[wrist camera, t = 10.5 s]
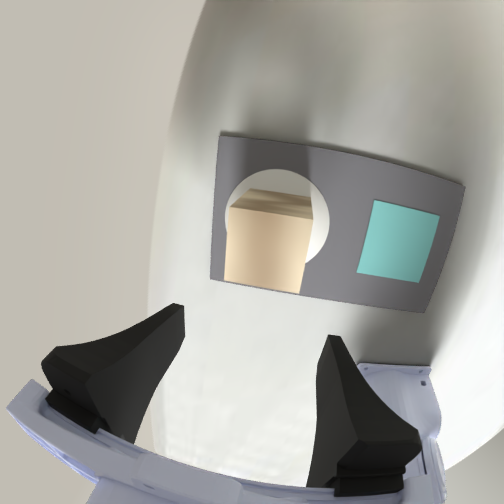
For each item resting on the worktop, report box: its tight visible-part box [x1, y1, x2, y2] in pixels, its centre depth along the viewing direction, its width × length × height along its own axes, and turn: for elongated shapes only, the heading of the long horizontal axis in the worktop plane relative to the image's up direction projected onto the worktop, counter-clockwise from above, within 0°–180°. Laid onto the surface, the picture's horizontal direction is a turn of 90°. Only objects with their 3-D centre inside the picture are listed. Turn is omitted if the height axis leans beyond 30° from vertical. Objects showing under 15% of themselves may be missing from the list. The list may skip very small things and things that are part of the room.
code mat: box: [210, 136, 465, 313], centre depth 20 cm, size 20×12×1 cm, turn 84°
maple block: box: [224, 188, 313, 294], centre depth 18 cm, size 4×4×6 cm
